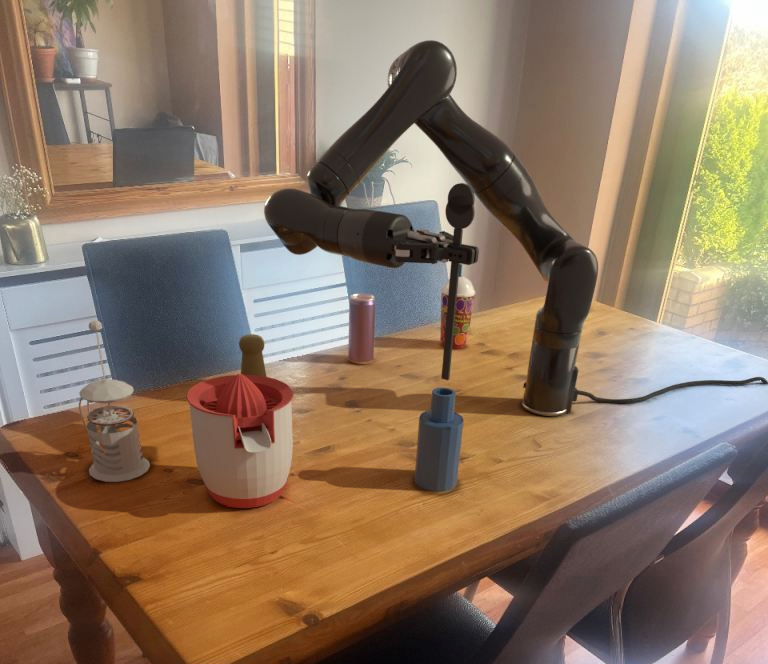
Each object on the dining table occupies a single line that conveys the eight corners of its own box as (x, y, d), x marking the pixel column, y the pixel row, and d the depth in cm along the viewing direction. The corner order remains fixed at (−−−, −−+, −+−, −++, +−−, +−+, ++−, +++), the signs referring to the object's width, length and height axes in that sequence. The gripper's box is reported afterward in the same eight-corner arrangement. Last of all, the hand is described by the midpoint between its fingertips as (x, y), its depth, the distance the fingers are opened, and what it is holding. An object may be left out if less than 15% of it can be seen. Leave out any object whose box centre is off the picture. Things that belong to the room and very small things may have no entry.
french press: (116, 487, 115) (89, 335, 102) (68, 467, 120) (37, 319, 107) (162, 464, 122) (142, 319, 109) (115, 446, 127) (91, 305, 114)
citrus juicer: (211, 531, 106) (198, 405, 95) (188, 477, 119) (175, 361, 109) (312, 512, 111) (310, 391, 101) (280, 462, 125) (275, 351, 114)
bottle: (450, 473, 124) (460, 383, 116) (460, 493, 118) (471, 400, 110) (411, 474, 123) (417, 383, 114) (419, 495, 117) (426, 401, 109)
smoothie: (447, 352, 178) (455, 269, 167) (430, 342, 184) (437, 261, 173) (476, 348, 181) (485, 267, 171) (458, 338, 187) (466, 259, 177)
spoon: (434, 375, 112) (449, 181, 98) (458, 382, 110) (477, 185, 95) (432, 376, 112) (447, 181, 97) (456, 383, 110) (475, 185, 95)
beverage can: (370, 366, 167) (372, 301, 159) (345, 363, 168) (346, 298, 160) (375, 357, 172) (378, 294, 164) (351, 354, 173) (352, 292, 165)
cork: (273, 384, 155) (271, 334, 149) (258, 393, 150) (255, 342, 145) (250, 379, 157) (247, 329, 151) (234, 387, 152) (230, 337, 147)
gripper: (347, 216, 101) (452, 234, 93) (401, 205, 111) (501, 221, 102) (347, 270, 105) (447, 292, 97) (399, 256, 115) (495, 275, 106)
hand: (475, 256), depth 100 cm, fingers closed on spoon, 1 cm apart
